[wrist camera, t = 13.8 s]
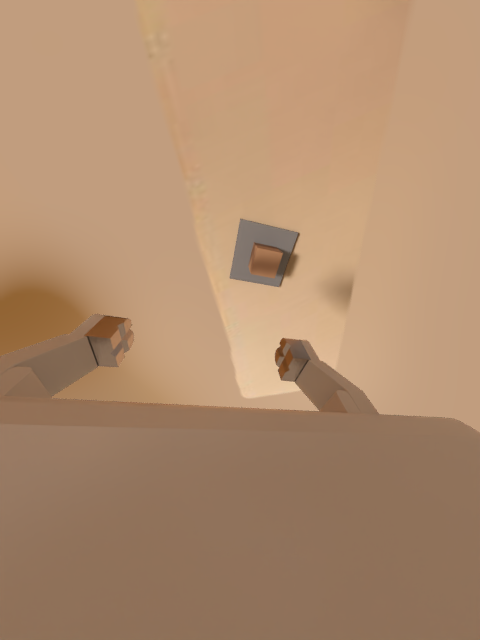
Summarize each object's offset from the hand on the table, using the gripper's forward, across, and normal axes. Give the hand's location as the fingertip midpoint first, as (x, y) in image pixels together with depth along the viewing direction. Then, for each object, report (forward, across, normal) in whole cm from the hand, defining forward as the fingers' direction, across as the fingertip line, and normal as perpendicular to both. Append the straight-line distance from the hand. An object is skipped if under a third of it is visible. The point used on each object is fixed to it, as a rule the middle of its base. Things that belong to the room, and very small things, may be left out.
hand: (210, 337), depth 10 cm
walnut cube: (+30, -9, +2) cm, 32 cm away
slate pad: (+31, -9, +2) cm, 32 cm away
